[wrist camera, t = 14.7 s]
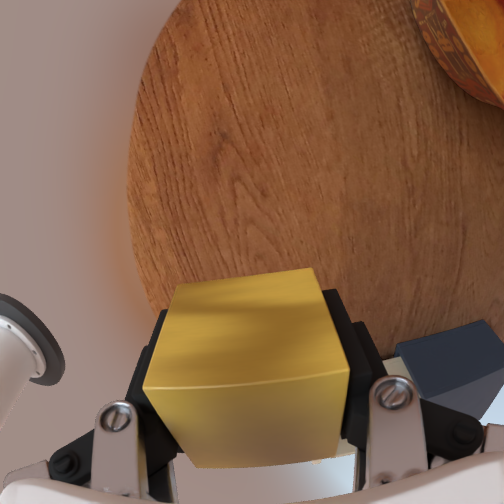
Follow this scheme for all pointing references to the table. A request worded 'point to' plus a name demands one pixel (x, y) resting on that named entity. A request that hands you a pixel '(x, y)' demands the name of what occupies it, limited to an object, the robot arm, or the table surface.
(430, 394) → the cabinet
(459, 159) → the table surface
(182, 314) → the block
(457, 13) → the bowl
